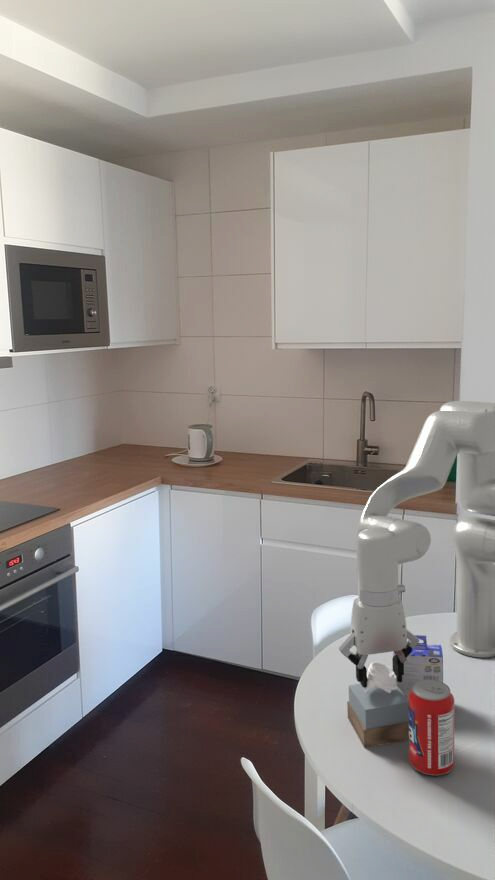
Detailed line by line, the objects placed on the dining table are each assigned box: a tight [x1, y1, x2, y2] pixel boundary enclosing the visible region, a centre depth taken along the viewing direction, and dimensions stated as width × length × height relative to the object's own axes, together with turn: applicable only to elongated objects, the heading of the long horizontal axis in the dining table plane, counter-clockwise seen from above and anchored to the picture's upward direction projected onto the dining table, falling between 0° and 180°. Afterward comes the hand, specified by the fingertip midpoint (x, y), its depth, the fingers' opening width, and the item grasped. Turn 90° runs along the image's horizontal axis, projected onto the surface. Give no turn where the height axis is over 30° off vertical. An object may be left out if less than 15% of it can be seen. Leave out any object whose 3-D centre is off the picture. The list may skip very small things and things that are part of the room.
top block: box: [348, 683, 409, 729], centre depth 135 cm, size 9×9×4 cm
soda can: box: [408, 679, 455, 776], centre depth 124 cm, size 8×8×15 cm
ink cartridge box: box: [392, 634, 444, 699], centre depth 143 cm, size 10×6×14 cm, turn 78°
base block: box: [346, 700, 409, 748], centre depth 136 cm, size 10×10×4 cm
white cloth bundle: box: [363, 662, 397, 693], centre depth 135 cm, size 8×7×5 cm
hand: (380, 680), depth 135 cm, fingers closed on white cloth bundle, 6 cm apart
